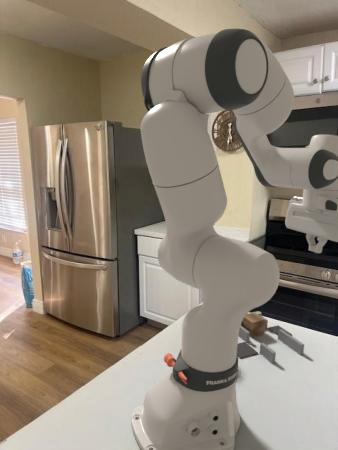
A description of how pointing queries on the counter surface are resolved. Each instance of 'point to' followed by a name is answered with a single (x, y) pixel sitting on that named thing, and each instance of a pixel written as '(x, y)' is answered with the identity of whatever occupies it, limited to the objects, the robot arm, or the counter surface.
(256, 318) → the walnut block
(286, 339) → the rail lane
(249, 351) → the mats
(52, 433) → the counter surface
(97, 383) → the counter surface
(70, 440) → the counter surface
